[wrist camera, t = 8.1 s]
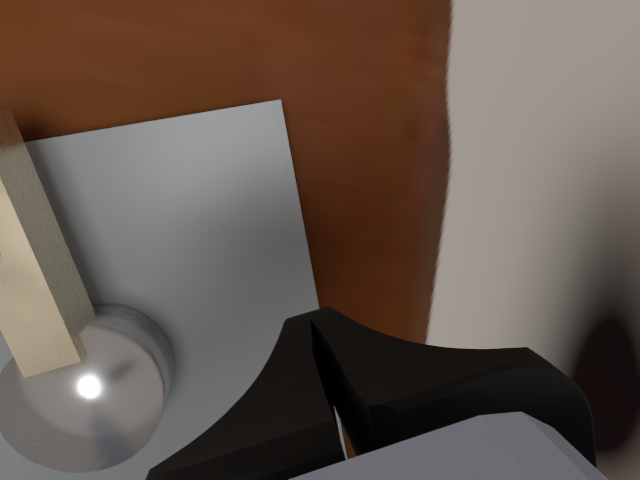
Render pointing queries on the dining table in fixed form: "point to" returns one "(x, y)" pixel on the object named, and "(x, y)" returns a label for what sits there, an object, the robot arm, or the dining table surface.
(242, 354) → the lock plate
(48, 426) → the door lever handle
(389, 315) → the dining table surface
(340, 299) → the dining table surface
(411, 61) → the dining table surface
